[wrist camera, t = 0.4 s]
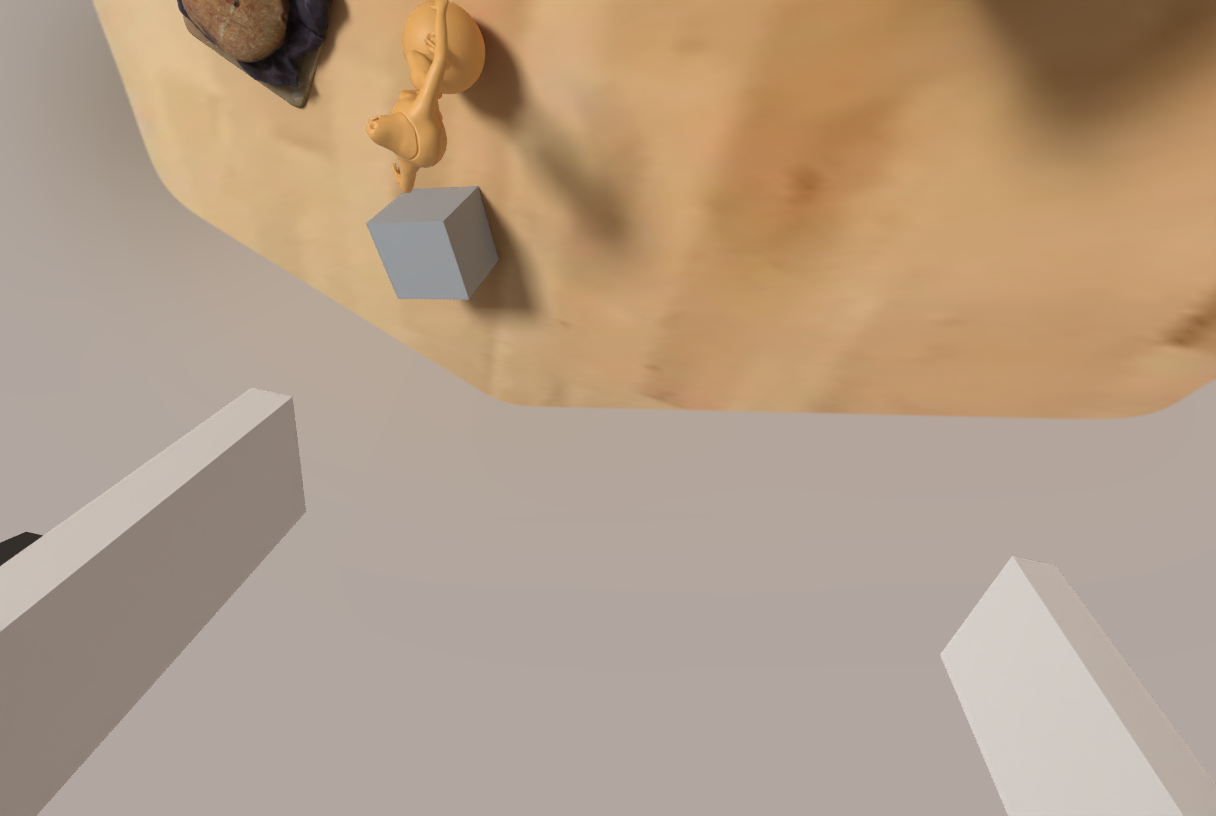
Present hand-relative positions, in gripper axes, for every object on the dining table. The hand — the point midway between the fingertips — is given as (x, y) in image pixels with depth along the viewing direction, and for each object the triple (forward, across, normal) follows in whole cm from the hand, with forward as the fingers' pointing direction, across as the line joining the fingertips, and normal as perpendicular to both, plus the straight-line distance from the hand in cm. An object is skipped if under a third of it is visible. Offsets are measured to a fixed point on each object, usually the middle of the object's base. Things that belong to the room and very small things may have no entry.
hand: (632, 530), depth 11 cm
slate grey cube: (+29, -14, -4) cm, 33 cm away
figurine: (+27, -12, +6) cm, 30 cm away
